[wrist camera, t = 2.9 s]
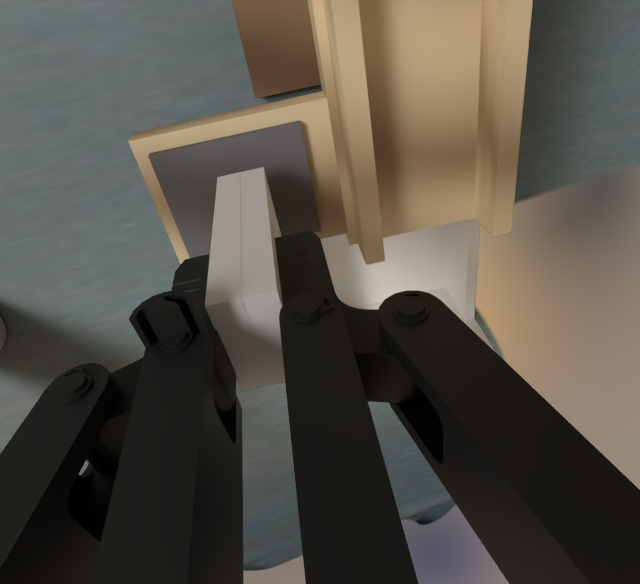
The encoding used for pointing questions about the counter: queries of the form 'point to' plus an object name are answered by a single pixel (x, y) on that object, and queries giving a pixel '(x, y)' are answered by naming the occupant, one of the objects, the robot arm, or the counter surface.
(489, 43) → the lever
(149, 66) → the counter surface
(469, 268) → the white open box
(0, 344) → the travel mug
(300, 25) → the stand
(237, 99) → the counter surface
